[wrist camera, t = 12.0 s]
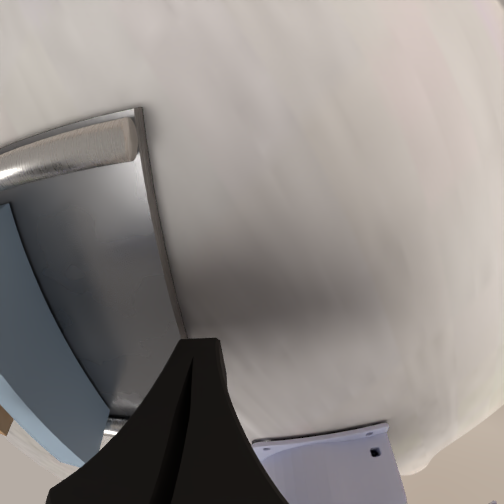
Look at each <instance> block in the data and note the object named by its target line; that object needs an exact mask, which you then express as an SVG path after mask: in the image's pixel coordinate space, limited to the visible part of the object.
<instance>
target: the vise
mask: <svg viewBox="0 0 504 504" xmlns="http://www.w3.org/2000/svg"><path fill="white" fill-rule="evenodd" d="M8 203H9V205H10V208H11V212H12V215H13V218H14V222H15V225H16V228H17V231H18V234H19V237H20V240H21V243H22V245H23V248H24V251H25V253H26V256H27V259H28V261H29V264H30V266H31V269H32V271H33V274H34V276H35V278H36V281H37V283H38V285H39V288H40V290H41V292H42V294H43V297H44V299H45V301H46V303H47V305H48V307H49V309H50V311H51V313H52V315H53V317H54V319H55V321H56V323H57V325H58V327H59V329H60V331H61V333H62V335H63V337H64V338H65V340H66V342H67V344H68V346H69V347H70V349H71V351H72V353H73V354H74V356H75V358H76V359H77V361H78V363H79V364H80V366H81V368H82V369H83V371H84V372H85V374H86V376H87V377H88V379H89V380H90V382H91V383H92V385H93V386H94V388H95V389H96V391H97V392H98V394H99V395H100V397H101V398H102V400H103V401H104V403H105V404H106V405H107V407H108V408H109V410H110V412H109V415H108V419H107V423H106V426H105V430H104V434H103V435H104V436H111V437H114V436H115V435H116V434H117V432H118V431H119V430H120V429H121V428H122V427H123V426H124V424H125V423H126V422H127V421H128V420H129V418H130V417H131V416H132V414H133V413H134V412H135V411H136V409H137V408H138V406H139V405H140V404H141V402H142V401H143V399H144V398H145V396H146V395H147V394H148V392H149V391H150V389H151V388H152V386H153V385H154V383H155V381H156V380H157V378H158V376H159V375H160V373H161V372H162V370H163V368H164V367H165V365H166V363H167V361H168V360H169V358H170V356H171V354H172V352H173V350H174V349H175V347H176V345H177V343H178V341H179V340H180V339H187V335H186V331H185V328H184V324H183V320H182V316H181V312H180V308H179V305H178V301H177V297H176V292H175V288H174V284H173V280H172V276H171V271H170V267H169V263H168V258H167V253H166V249H165V244H164V239H163V234H162V230H161V224H160V219H159V214H158V209H157V203H156V198H155V192H154V186H153V180H152V174H151V168H150V162H149V155H148V148H147V141H146V134H145V126H144V118H143V109H142V107H140V108H134V109H129V110H124V111H120V112H115V113H111V114H107V115H102V116H98V117H95V118H91V119H87V120H83V121H80V122H76V123H73V124H69V125H66V126H62V127H59V128H56V129H53V130H50V131H47V132H44V133H41V134H38V135H35V136H32V137H29V138H27V139H24V140H21V141H19V142H16V143H13V144H11V145H8V146H6V147H3V148H1V149H0V205H4V204H8Z"/></svg>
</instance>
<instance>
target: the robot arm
mask: <svg viewBox="0 0 504 504" xmlns="http://www.w3.org/2000/svg"><path fill="white" fill-rule="evenodd" d="M388 429H389V425H388V423H381V424H377V425H373V426H369V427H364V428H359V429H354V430H349V431H344V432H339V433H333V434H327V435H320V436H313V437H306V438H298V439H289V440H279V441H267V442H256V443H253V444H252V445H251V444H250V443H249V441H248V439H247V437H246V435H245V433H244V430H243V428H242V426H241V424H240V422H239V420H238V417H237V415H236V412H235V410H234V407H233V405H232V402H231V399H230V396H229V393H228V389H227V376H226V369H225V364H224V359H223V354H222V349H221V343H220V340H219V339H217V338H198V339H180V340H179V341H178V343H177V345H176V347H175V349H174V350H173V352H172V354H171V356H170V358H169V360H168V361H167V363H166V365H165V367H164V368H163V370H162V372H161V373H160V375H159V376H158V378H157V380H156V381H155V383H154V385H153V386H152V388H151V389H150V391H149V392H148V394H147V395H146V396H145V398H144V399H143V401H142V402H141V404H140V405H139V406H138V408H137V409H136V411H135V412H134V413H133V414H132V416H131V417H130V418H129V420H128V421H127V422H126V423H125V424H124V426H123V427H122V428H121V429H120V430H119V431H118V432H117V434H116V435H115V436H114V437H113V438H112V439H111V440H110V441H109V442H108V443H107V444H106V445H105V446H104V447H103V448H102V449H101V450H100V451H99V452H98V453H97V454H96V455H95V456H93V457H92V458H91V459H90V460H89V461H88V462H86V463H85V464H84V465H83V466H82V467H81V468H79V469H78V470H77V471H76V472H74V473H73V474H71V475H70V476H69V477H67V478H66V479H64V480H63V481H61V482H60V483H59V484H57V485H56V486H54V487H52V488H51V489H50V490H49V494H48V496H47V500H46V504H407V499H406V495H405V491H404V487H403V484H402V480H401V477H400V473H399V470H398V467H397V464H396V460H395V457H394V454H393V451H392V447H391V444H390V441H389V438H388V435H387V431H388ZM489 504H497V503H496V501H492V502H491V503H489Z"/></svg>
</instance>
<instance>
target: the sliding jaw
mask: <svg viewBox="0 0 504 504" xmlns="http://www.w3.org/2000/svg"><path fill="white" fill-rule="evenodd" d="M0 405H1V406H2V407H3V408H4V409H5V410H6V411H7V412H8V413H9V415H10V416H11V417H12V418H13V419H14V420H15V421H16V422H17V423H18V424H19V425H20V426H21V427H22V428H23V429H24V430H25V431H26V432H27V433H28V434H29V435H30V436H31V437H32V438H34V439H35V440H36V441H37V442H38V443H39V444H40V445H41V446H42V447H43V448H45V449H46V450H47V451H48V452H49V453H50V454H51V455H53V456H54V457H55V458H56V459H57V460H59V461H60V462H62V463H66V464H69V465H73V466H77V467H82V466H83V465H84V464H85V463H86V462H88V461H89V460H90V459H91V458H92V457H93V456H95V455H96V454H97V453H98V452H99V449H100V445H101V441H102V437H103V434H104V430H105V426H106V423H107V419H108V415H109V412H110V410H109V408H108V407H107V405H106V404H105V403H104V401H103V400H102V398H101V397H100V395H99V394H98V392H97V391H96V389H95V388H94V386H93V385H92V383H91V382H90V380H89V379H88V377H87V376H86V374H85V372H84V371H83V369H82V368H81V366H80V364H79V363H78V361H77V359H76V358H75V356H74V354H73V353H72V351H71V349H70V347H69V346H68V344H67V342H66V340H65V338H64V337H63V335H62V333H61V331H60V329H59V327H58V325H57V323H56V321H55V319H54V317H53V315H52V313H51V311H50V309H49V307H48V305H47V303H46V301H45V299H44V297H43V294H42V292H41V290H40V288H39V285H38V283H37V281H36V278H35V276H34V274H33V271H32V269H31V266H30V264H29V261H28V259H27V256H26V253H25V251H24V248H23V245H22V243H21V240H20V237H19V234H18V231H17V228H16V225H15V222H14V218H13V215H12V212H11V208H10V205H9V203H8V204H4V205H0Z"/></svg>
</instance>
